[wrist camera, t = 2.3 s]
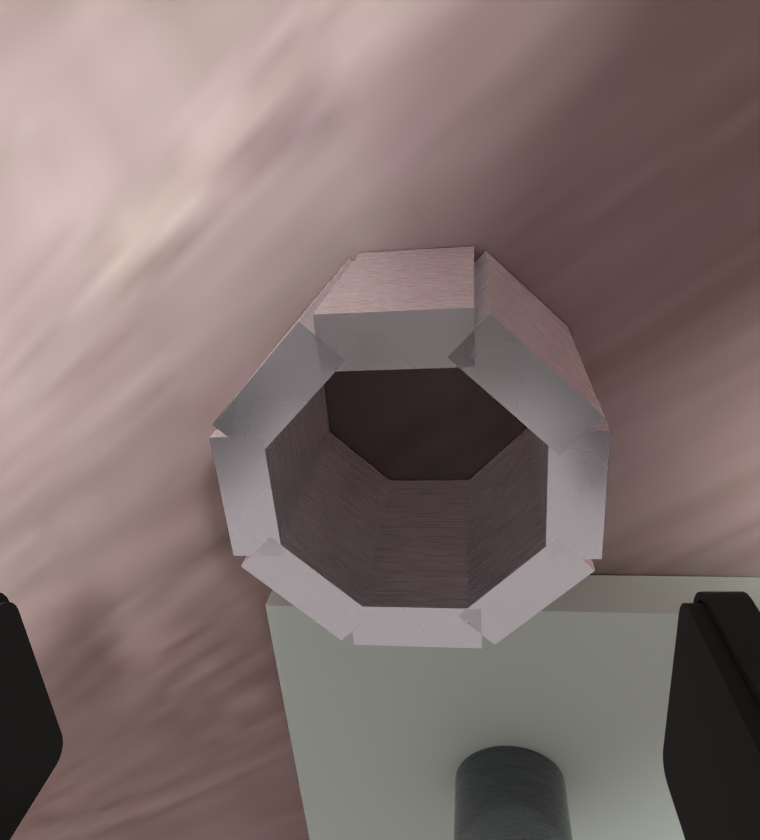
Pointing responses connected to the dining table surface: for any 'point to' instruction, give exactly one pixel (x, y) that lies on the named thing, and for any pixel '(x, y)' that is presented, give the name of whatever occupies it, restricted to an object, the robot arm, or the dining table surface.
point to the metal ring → (417, 499)
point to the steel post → (510, 797)
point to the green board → (491, 712)
